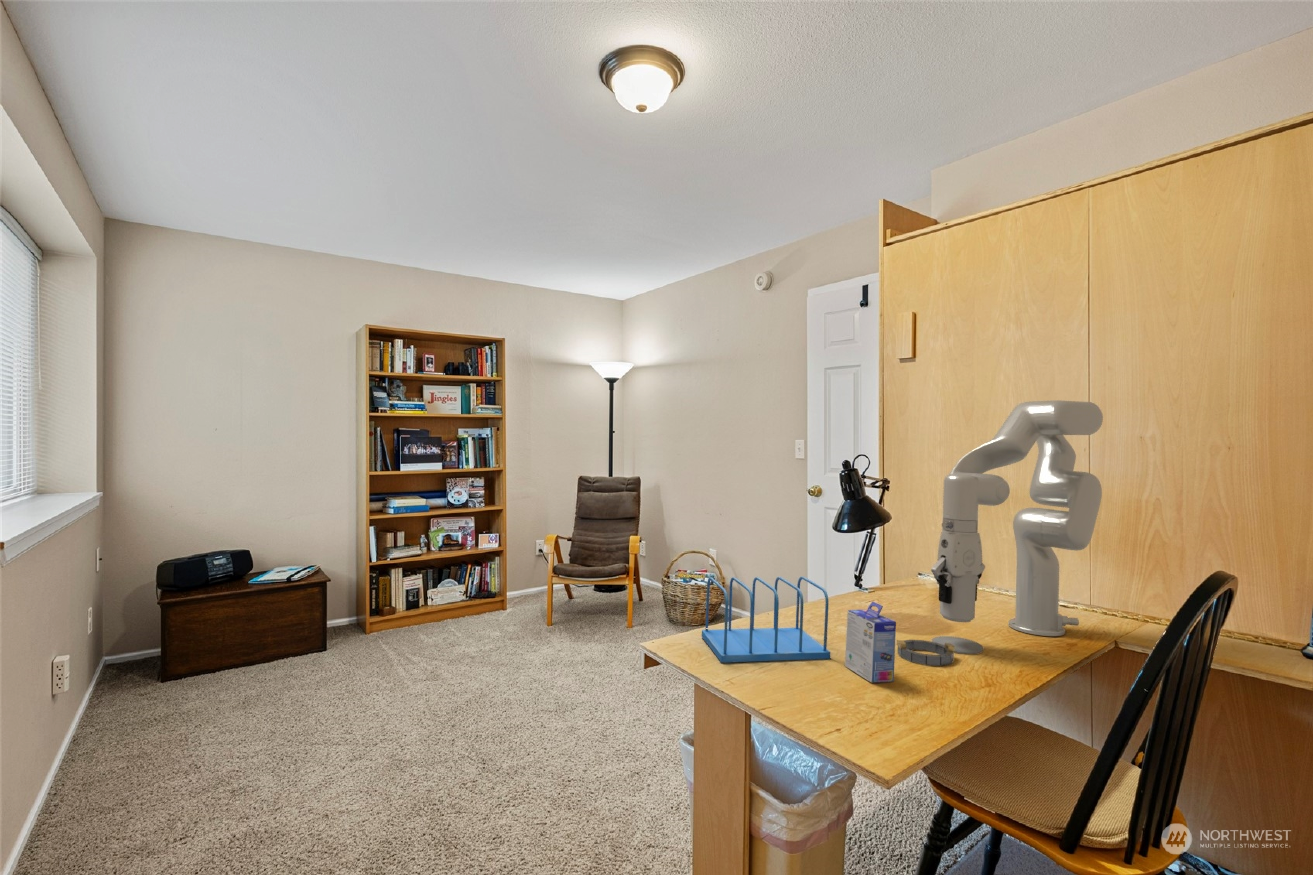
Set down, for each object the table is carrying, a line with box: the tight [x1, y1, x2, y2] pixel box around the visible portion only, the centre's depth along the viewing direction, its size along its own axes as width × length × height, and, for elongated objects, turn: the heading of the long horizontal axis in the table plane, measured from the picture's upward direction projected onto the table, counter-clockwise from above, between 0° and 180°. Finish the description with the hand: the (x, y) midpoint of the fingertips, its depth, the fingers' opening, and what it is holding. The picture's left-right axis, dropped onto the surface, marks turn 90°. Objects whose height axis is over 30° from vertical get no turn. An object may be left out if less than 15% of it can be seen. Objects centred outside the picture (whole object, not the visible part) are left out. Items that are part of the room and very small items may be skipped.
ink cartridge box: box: [844, 601, 897, 684], centre depth 128 cm, size 10×6×14 cm, turn 16°
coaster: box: [931, 635, 984, 655], centre depth 147 cm, size 11×11×1 cm
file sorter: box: [701, 576, 831, 664], centre depth 143 cm, size 25×17×15 cm
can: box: [939, 571, 976, 623], centre depth 147 cm, size 8×8×12 cm
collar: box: [896, 639, 955, 667], centre depth 139 cm, size 12×11×3 cm
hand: (957, 600), depth 147 cm, fingers closed on can, 7 cm apart
